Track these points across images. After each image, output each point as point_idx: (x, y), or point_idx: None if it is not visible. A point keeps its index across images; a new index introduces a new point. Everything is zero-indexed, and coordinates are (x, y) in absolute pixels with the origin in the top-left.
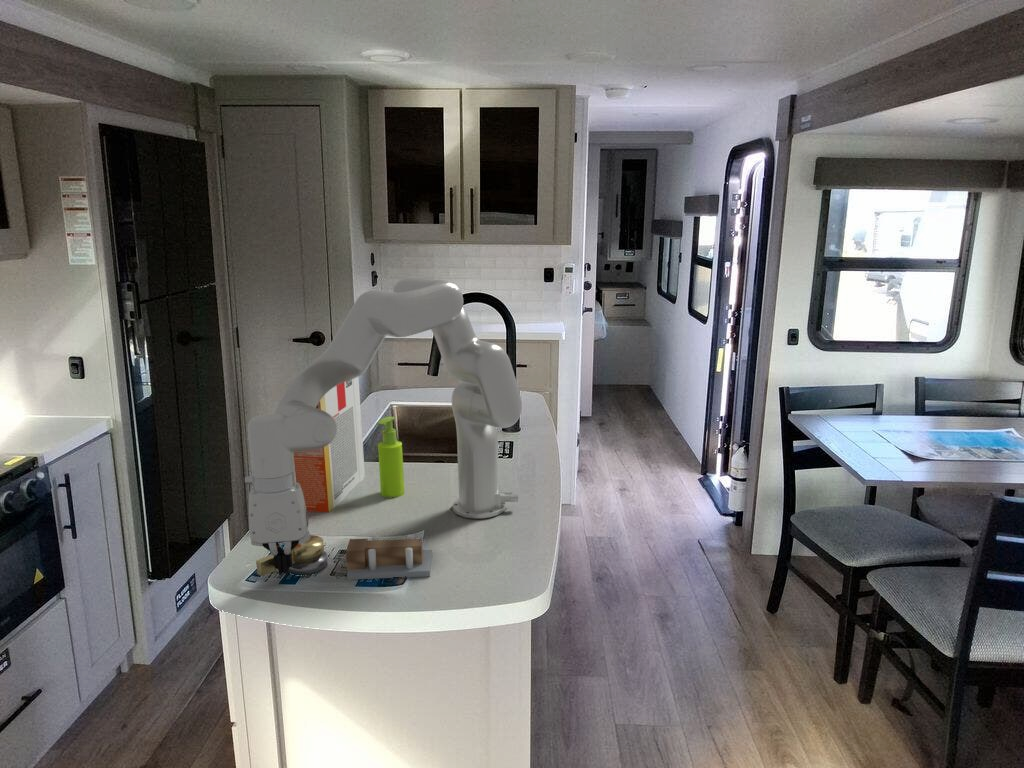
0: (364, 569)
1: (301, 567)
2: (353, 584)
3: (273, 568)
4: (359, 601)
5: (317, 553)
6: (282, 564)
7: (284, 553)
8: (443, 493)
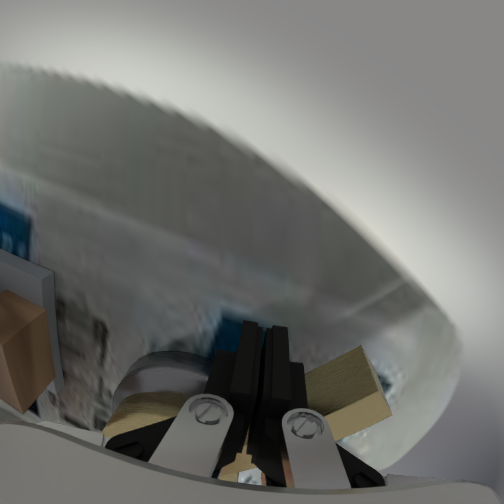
0: (7, 286)
1: (190, 378)
2: (37, 233)
3: (307, 382)
4: (26, 116)
5: (118, 410)
6: (259, 356)
7: (235, 413)
8: None
